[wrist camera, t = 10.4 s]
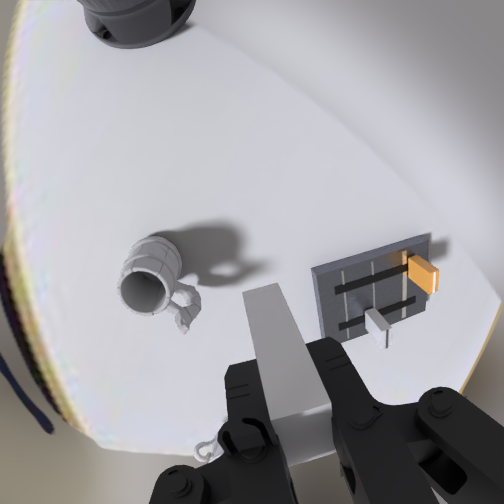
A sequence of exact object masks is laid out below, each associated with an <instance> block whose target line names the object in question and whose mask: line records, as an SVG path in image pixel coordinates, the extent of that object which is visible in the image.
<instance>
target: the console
mask: <svg viewBox="0 0 504 504" xmlns="http://www.w3.org/2000/svg"><path fill="white" fill-rule="evenodd" d="M415 255H418V256H420V257H421V258H423V259H424V260H426V261H427V262H428V240H427V239H425V238H423V237H422V236H420V235H419V236H416V237H413V238H409V239H406V240H403V241H400V242H397V243H394V244H390V245H387V246H384V247H381V248H377V249H374V250H371V251H368V252H364V253H361V254H358V255H354V256H351V257H348V258H344V259H341V260H338V261H334V262H331V263H327V264H324V265H321V266H317V267H314V268H311V271H312V277H313V284H314V290H315V296H316V303H317V309H318V316H319V323H320V330H321V337H322V339H323V338H326V337H329V336H330V337H332V338H333V339H335V340H336V341H338V342H339V343H342V342H345V341H348V340H351V339H354V338H357V337H359V336H362V335H365V334H368V333H369V332H368V331H367V329H366V326H365V311H366V310H369V309H372V308H375V309H376V310H377V311H378V312H379V313H380V314H381V315H382V317H383V318H384V319H385V320H386V321H387V322H388V323H389V325H391V324H394V323H396V322H399V321H401V320H404V319H406V318H408V317H411V316H413V315H416V314H418V313H420V312H423V311H425V307H426V292H425V291H424V290H423V289H422V288H421V287H419V286H418V285H417V284H416V283H414V282H413V281H412V280H411V279H410V278H408V258H409V257H412V256H415Z"/></svg>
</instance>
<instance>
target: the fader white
mask: <svg viewBox="0 0 504 504" xmlns="http://www.w3.org/2000/svg"><path fill="white" fill-rule="evenodd" d="M365 326H366V329H367V331H368V332H369V334H370V335H371V336H372V338H373V339H374V340H375V342H376V343H377V344H378V346H379V347H380V348H381V349H384V348H388V347H389V346H391V342H392V327H391V326H390V325H389V323H388V322H387V321H386V320H385V319H384V318H383V317H382V315H381V314H380V313H379V312H378V311H377V310H376V309H375V308H372V309H369V310H366V311H365Z"/></svg>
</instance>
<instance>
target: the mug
mask: <svg viewBox="0 0 504 504" xmlns="http://www.w3.org/2000/svg"><path fill="white" fill-rule="evenodd" d="M181 269H182V260H181V256H180V254H179V252H178V250H177V248H176V247H175V245H174V244H173V243H170V242H169V241H168V240H167V239H165V238H163V237H159V236H151V237H147V238H144V239H141V240H140V241H138V242H137V243H136V244H135V245H133V246H132V248H131V250H130V252H129V255H128V258H127V260H126V261H125V262H124V264H123V267H122V269H121V274H120V278H119V281H118V287H117V293H118V296H119V299H120V301H121V302H122V304H123V305H124V306H125V307H126V308H128V309H129V308H130V311H131V312H133V313H135V314H138V315H142V316H152V315H154V314H158V313H160V312H162V311H163V310H166V311H167V312H169V313H170V314H172V315H173V316H175V322H176V325H177V328H178V330H179V331H180V332H181V333H182V334H183V335H184V334H186V333H187V331H188V330H189V325H190V323H191V322H192V321H193V319H194V318H196V316H197V315H198V313H199V312H200V310H201V297H200V295H199V292H198V291H196V289H195V287H194V286H191V285H186V284H183V283H180V282H178V281H177V280H178V278H179V276H180V273H181ZM174 292H176V293H178V294H180V295H182V296H183V299H184V300H185V302H186V304H187V306H186V307H181V306H179V305H178V304H176V303H175V302H173V301H172V300H171V297H172V296H173V294H174Z"/></svg>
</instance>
